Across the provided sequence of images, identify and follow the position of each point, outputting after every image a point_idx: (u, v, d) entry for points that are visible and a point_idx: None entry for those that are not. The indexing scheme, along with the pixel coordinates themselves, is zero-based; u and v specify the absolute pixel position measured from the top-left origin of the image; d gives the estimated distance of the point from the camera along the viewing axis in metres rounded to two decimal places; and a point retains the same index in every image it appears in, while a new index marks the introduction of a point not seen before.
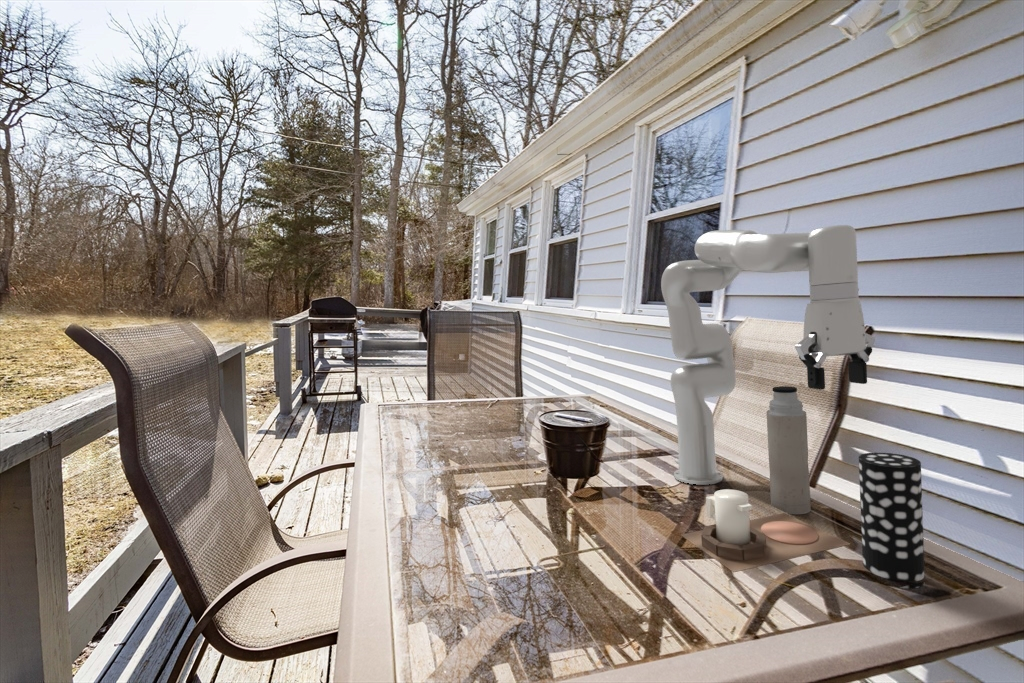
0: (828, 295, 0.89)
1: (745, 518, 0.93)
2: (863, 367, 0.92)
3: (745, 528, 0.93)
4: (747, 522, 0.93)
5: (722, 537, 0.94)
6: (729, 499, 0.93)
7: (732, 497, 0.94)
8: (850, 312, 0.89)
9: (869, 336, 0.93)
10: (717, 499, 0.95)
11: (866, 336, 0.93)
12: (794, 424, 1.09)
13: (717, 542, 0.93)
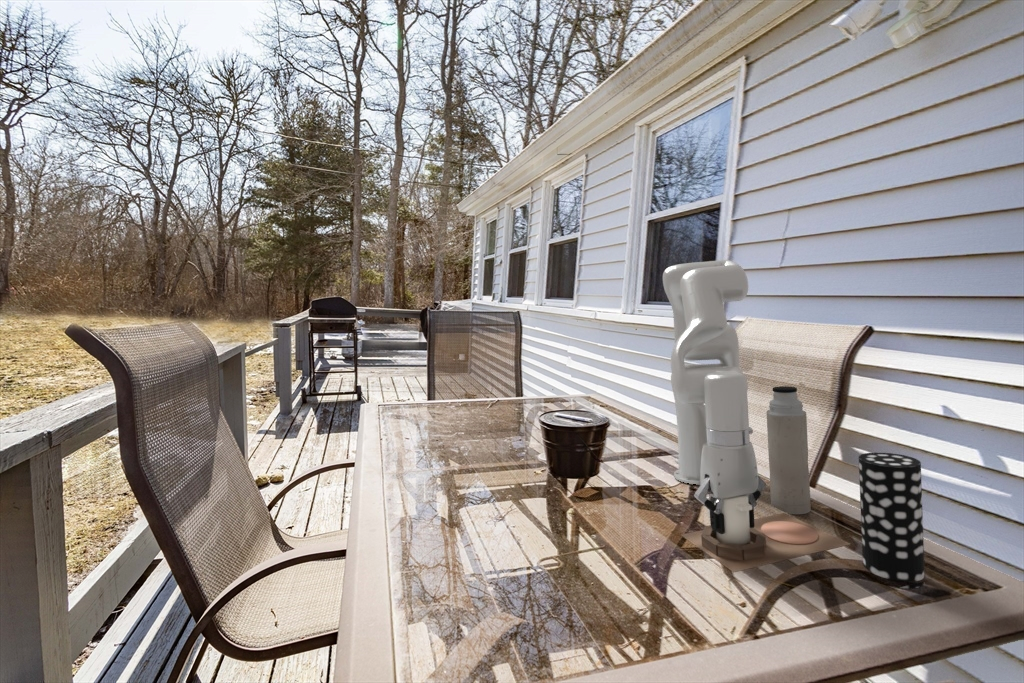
0: (719, 441, 0.92)
1: (745, 518, 0.93)
2: (751, 512, 0.95)
3: (745, 528, 0.93)
4: (747, 522, 0.93)
5: (722, 537, 0.94)
6: (729, 499, 0.93)
7: (732, 497, 0.94)
8: (741, 457, 0.93)
9: (761, 481, 0.96)
10: None
11: (759, 480, 0.96)
12: (794, 424, 1.09)
13: (717, 542, 0.93)
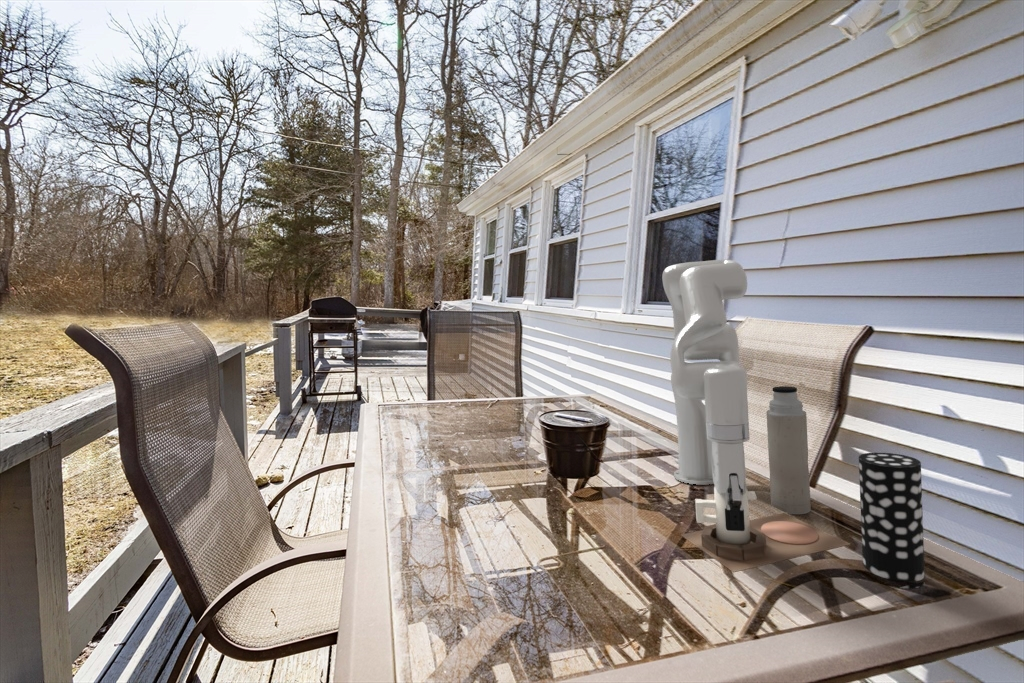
0: (741, 435, 0.91)
1: None
2: None
3: None
4: None
5: (738, 534, 0.93)
6: None
7: None
8: None
9: None
10: None
11: None
12: (794, 424, 1.09)
13: (717, 542, 0.93)
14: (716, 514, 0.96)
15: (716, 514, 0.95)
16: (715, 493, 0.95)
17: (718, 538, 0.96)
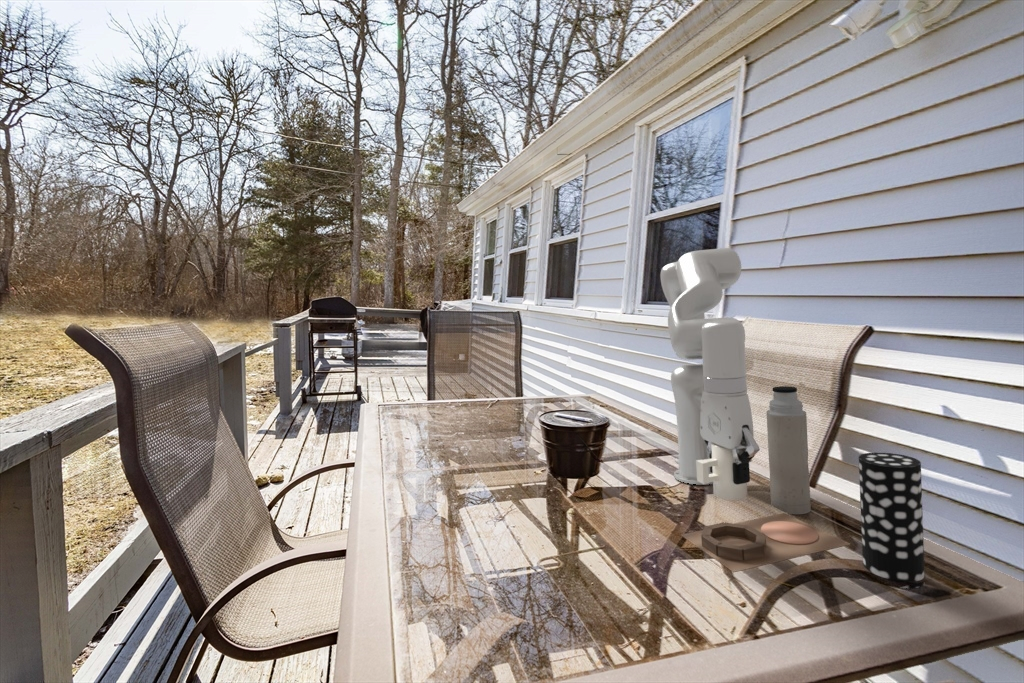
0: (745, 387, 0.92)
1: None
2: None
3: None
4: None
5: (743, 487, 0.93)
6: None
7: None
8: None
9: None
10: (739, 449, 0.92)
11: None
12: (794, 424, 1.09)
13: (717, 542, 0.93)
14: (718, 471, 0.94)
15: (719, 472, 0.94)
16: (718, 450, 0.94)
17: (721, 496, 0.94)
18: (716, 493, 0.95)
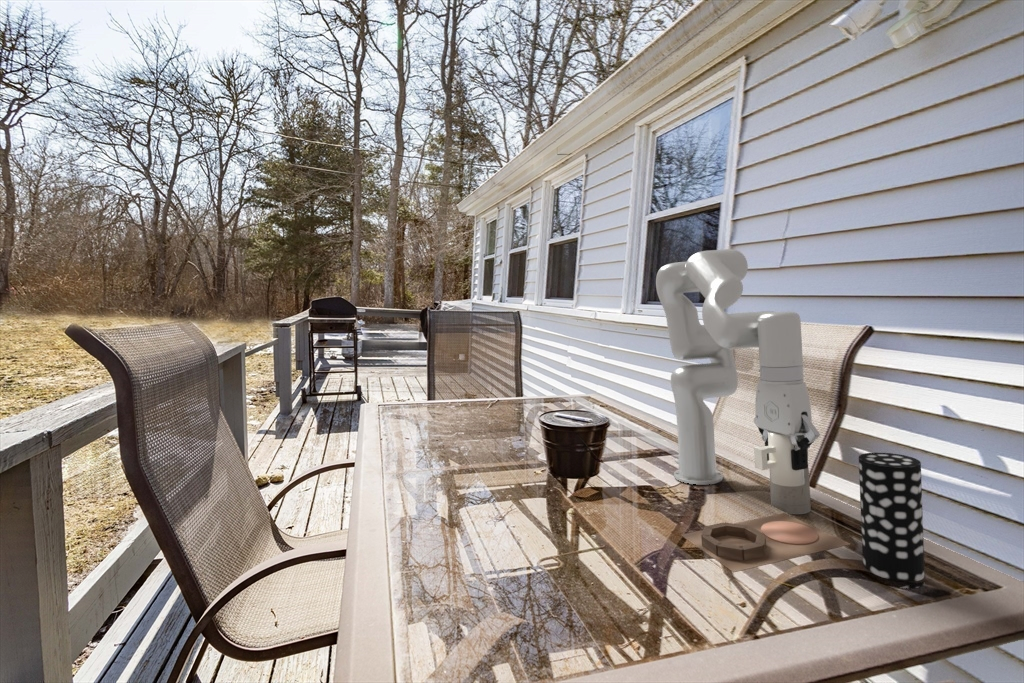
0: (802, 375, 0.95)
1: None
2: None
3: None
4: None
5: (801, 473, 0.96)
6: None
7: None
8: None
9: None
10: (797, 436, 0.95)
11: None
12: None
13: (717, 542, 0.93)
14: (776, 458, 0.97)
15: (777, 458, 0.96)
16: (775, 437, 0.96)
17: (779, 482, 0.97)
18: (773, 480, 0.98)
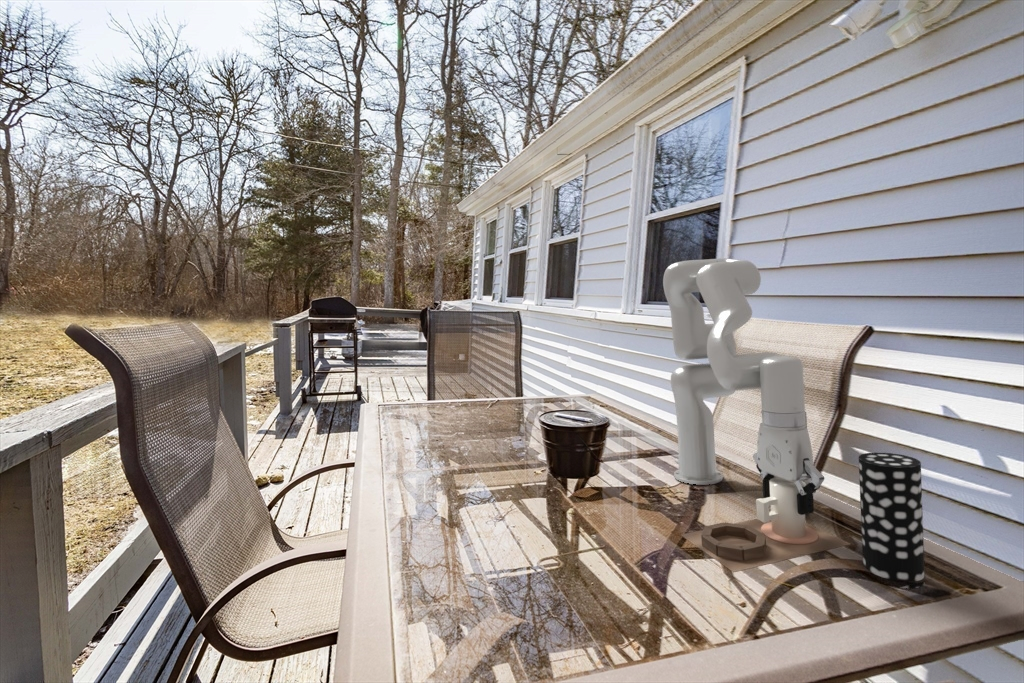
0: (804, 421, 0.95)
1: None
2: None
3: None
4: None
5: (802, 525, 0.96)
6: None
7: (792, 482, 0.98)
8: None
9: None
10: None
11: None
12: None
13: (717, 542, 0.93)
14: (778, 510, 0.97)
15: (779, 510, 0.97)
16: (777, 489, 0.97)
17: (781, 533, 0.97)
18: (775, 530, 0.98)
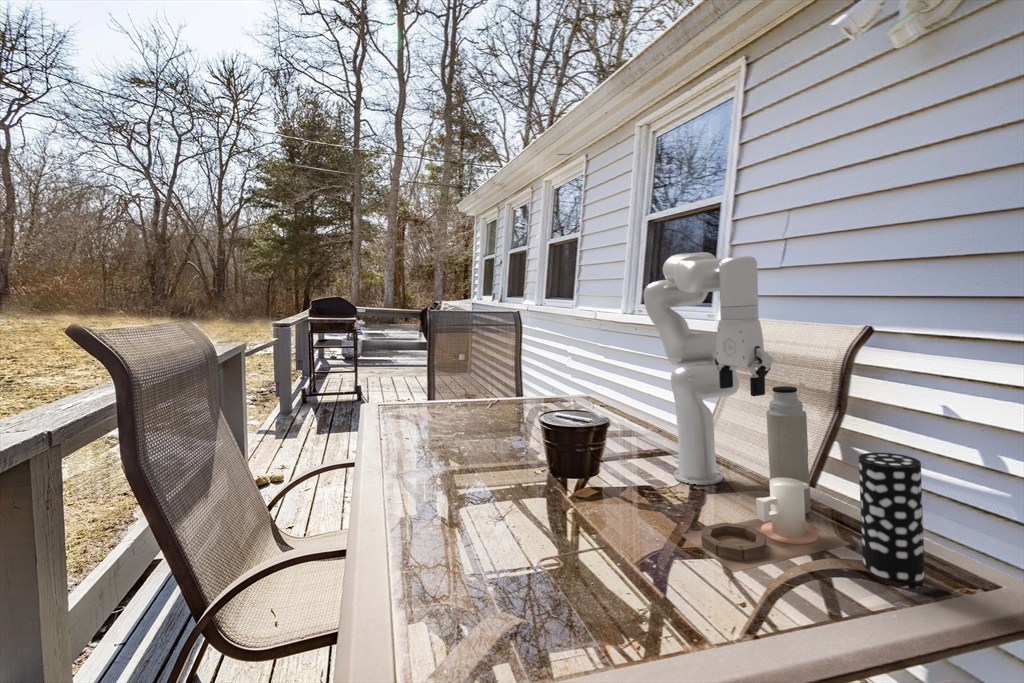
0: (757, 314, 1.05)
1: None
2: (731, 373, 1.14)
3: None
4: None
5: (802, 525, 0.96)
6: (801, 483, 0.97)
7: (792, 482, 0.98)
8: None
9: None
10: (798, 488, 0.96)
11: None
12: (794, 424, 1.09)
13: (717, 542, 0.93)
14: (778, 509, 0.97)
15: (779, 510, 0.97)
16: (777, 489, 0.97)
17: (781, 533, 0.97)
18: (775, 530, 0.98)
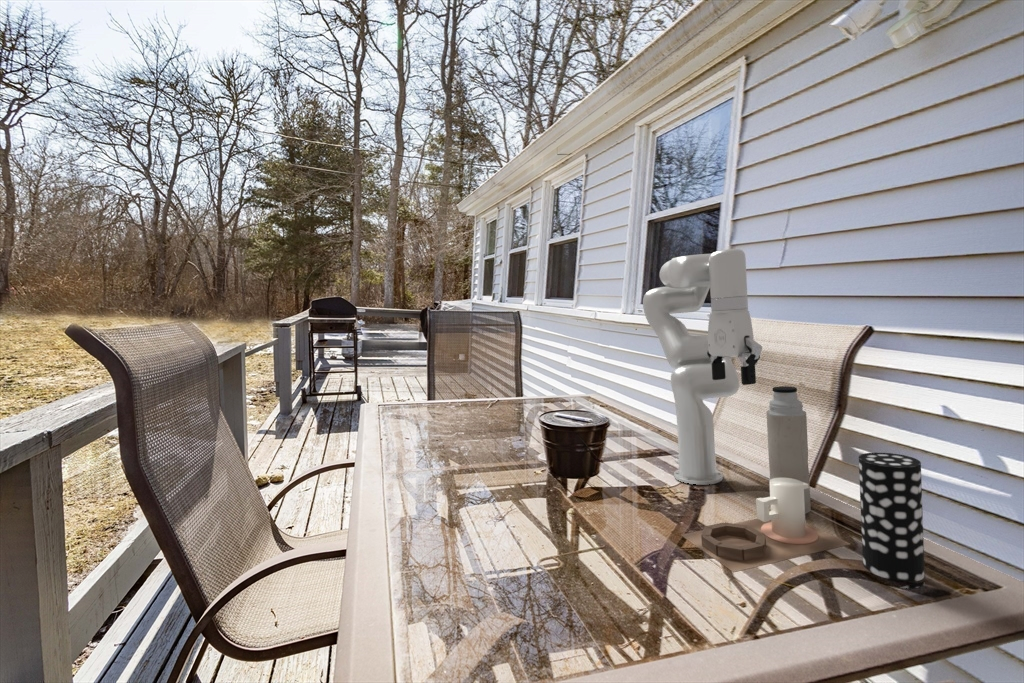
0: (746, 305, 1.08)
1: None
2: (723, 365, 1.16)
3: None
4: None
5: (802, 525, 0.96)
6: (801, 483, 0.97)
7: (792, 482, 0.98)
8: None
9: None
10: (798, 488, 0.96)
11: None
12: (794, 424, 1.09)
13: (717, 542, 0.93)
14: (778, 509, 0.97)
15: (779, 510, 0.97)
16: (777, 489, 0.97)
17: (781, 533, 0.97)
18: (775, 530, 0.98)
